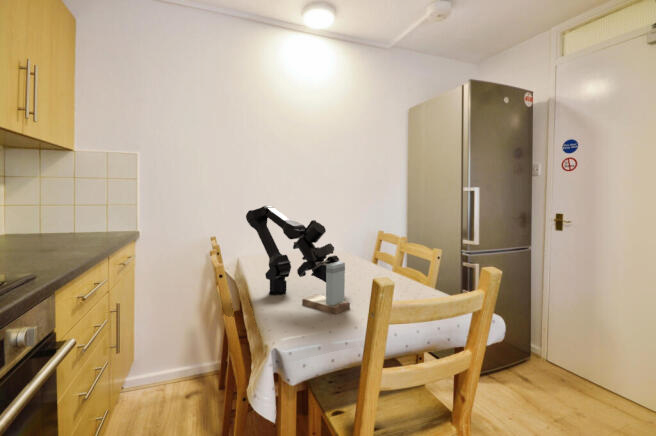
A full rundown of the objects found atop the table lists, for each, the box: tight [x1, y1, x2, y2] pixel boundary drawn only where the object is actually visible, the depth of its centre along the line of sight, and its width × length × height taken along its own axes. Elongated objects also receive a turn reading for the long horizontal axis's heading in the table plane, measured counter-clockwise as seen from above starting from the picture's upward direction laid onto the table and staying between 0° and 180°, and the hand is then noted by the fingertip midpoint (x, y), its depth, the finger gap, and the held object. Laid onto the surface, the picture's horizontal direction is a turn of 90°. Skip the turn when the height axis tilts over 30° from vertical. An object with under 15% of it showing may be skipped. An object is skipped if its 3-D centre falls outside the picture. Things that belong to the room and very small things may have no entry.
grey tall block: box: [325, 261, 346, 306], centre depth 109 cm, size 3×7×14 cm, turn 142°
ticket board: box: [301, 294, 351, 315], centre depth 112 cm, size 16×8×2 cm, turn 52°
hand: (331, 284), depth 110 cm, fingers closed, pressing on grey tall block
